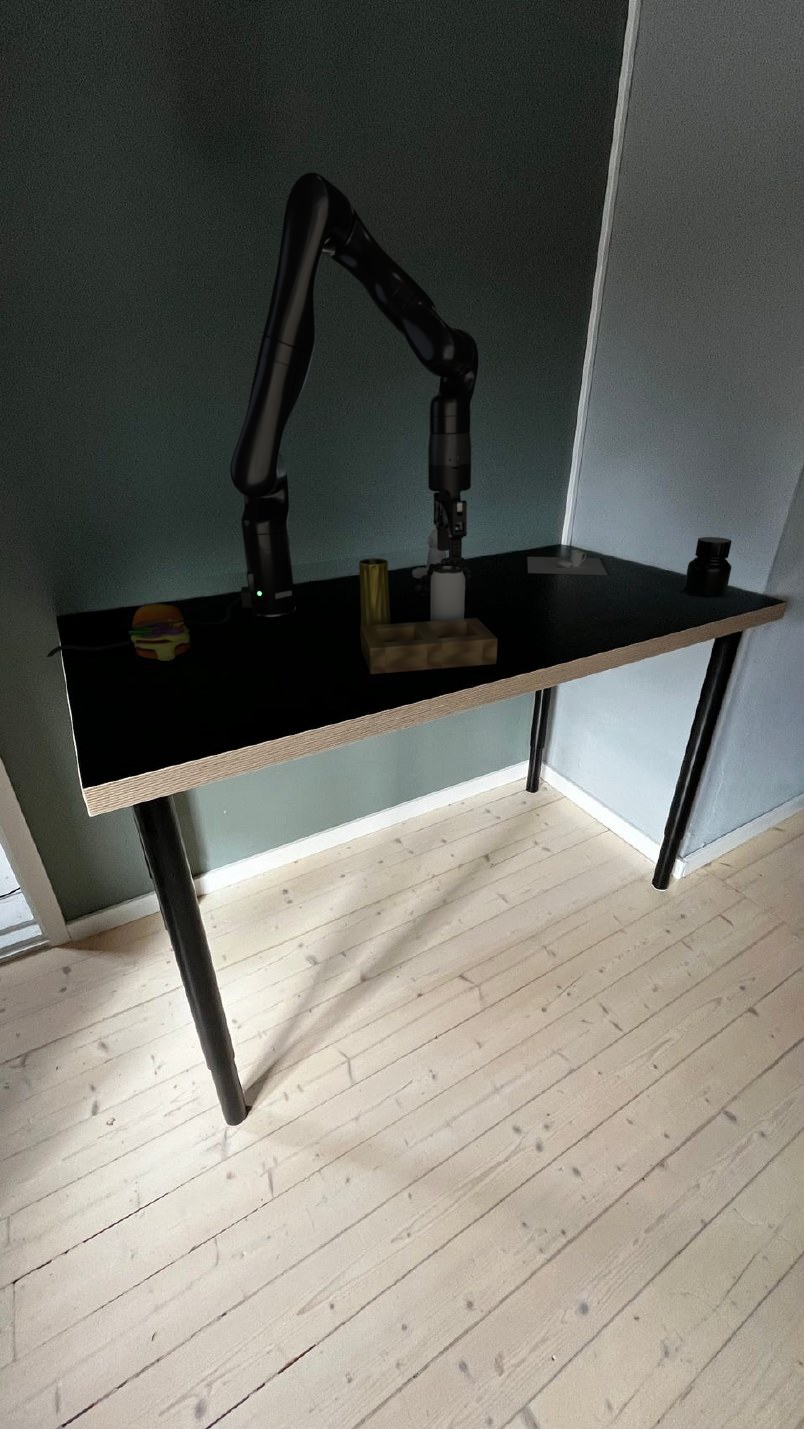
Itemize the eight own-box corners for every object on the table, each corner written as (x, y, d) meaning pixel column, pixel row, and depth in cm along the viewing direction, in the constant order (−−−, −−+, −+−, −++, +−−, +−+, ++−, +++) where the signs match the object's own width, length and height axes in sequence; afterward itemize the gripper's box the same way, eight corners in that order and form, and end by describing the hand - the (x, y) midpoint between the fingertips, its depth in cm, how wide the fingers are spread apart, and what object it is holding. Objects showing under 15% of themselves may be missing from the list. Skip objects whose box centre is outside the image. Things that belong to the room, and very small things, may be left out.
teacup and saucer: (557, 569, 169) (559, 554, 167) (556, 563, 176) (557, 548, 174) (592, 570, 168) (593, 555, 166) (589, 563, 175) (590, 548, 173)
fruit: (418, 561, 139) (473, 551, 146) (399, 567, 146) (453, 557, 153) (426, 601, 141) (480, 589, 148) (407, 604, 148) (459, 593, 155)
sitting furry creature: (436, 571, 170) (437, 524, 165) (460, 576, 164) (461, 528, 159) (410, 577, 164) (410, 529, 159) (434, 583, 159) (434, 533, 153)
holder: (370, 674, 105) (369, 648, 103) (361, 650, 116) (360, 626, 114) (496, 663, 109) (497, 638, 107) (475, 641, 119) (476, 617, 117)
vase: (380, 643, 119) (378, 566, 113) (353, 638, 122) (349, 562, 116) (398, 634, 123) (396, 559, 117) (371, 629, 126) (369, 556, 120)
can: (441, 638, 121) (442, 575, 116) (424, 628, 126) (424, 568, 121) (470, 632, 124) (472, 570, 118) (452, 623, 129) (453, 564, 124)
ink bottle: (707, 586, 152) (717, 534, 147) (736, 595, 144) (747, 541, 139) (673, 590, 149) (682, 537, 144) (700, 600, 142) (711, 545, 136)
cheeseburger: (135, 666, 109) (122, 608, 107) (135, 661, 119) (123, 607, 117) (196, 656, 113) (185, 599, 111) (191, 652, 123) (181, 599, 120)
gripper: (419, 459, 117) (420, 549, 124) (438, 465, 105) (438, 564, 112) (459, 457, 119) (458, 546, 126) (482, 463, 106) (480, 562, 113)
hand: (449, 555), depth 119 cm, fingers open, 8 cm apart
